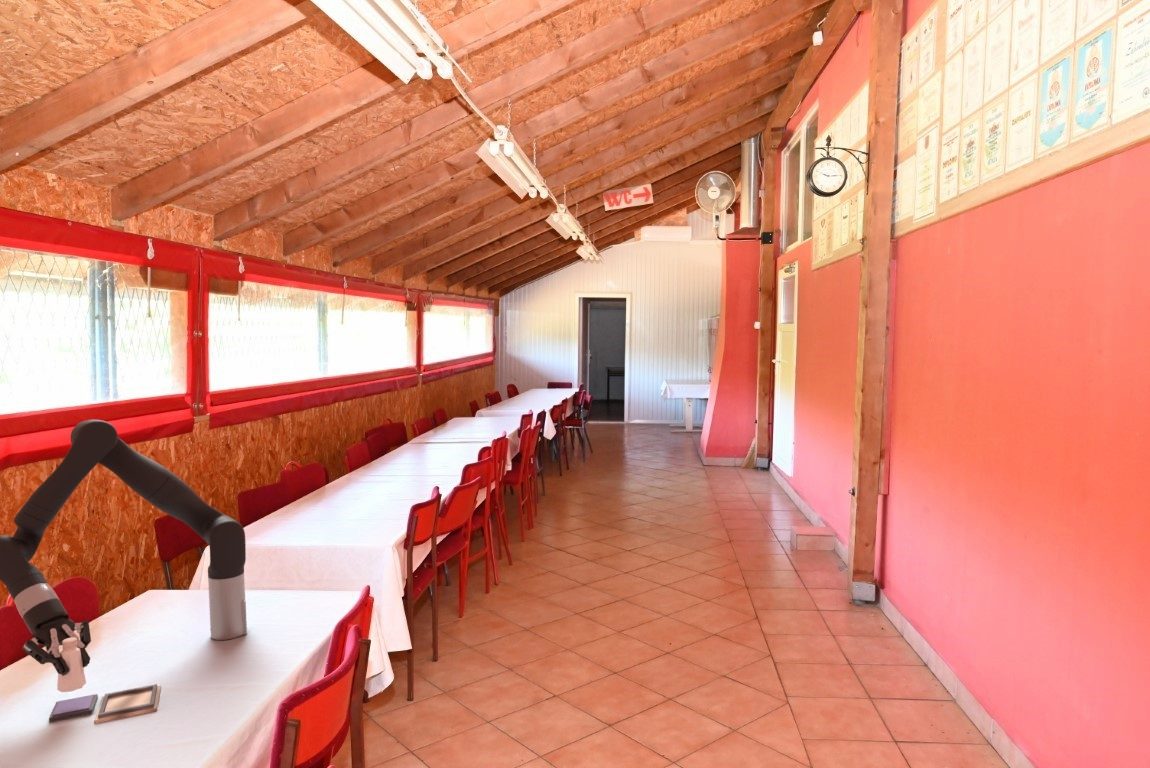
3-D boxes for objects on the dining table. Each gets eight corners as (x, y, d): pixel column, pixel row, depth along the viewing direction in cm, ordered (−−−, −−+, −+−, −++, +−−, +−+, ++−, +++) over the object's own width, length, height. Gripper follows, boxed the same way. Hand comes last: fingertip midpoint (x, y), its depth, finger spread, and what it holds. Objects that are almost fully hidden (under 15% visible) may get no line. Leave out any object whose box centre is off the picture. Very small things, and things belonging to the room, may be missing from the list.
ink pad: (97, 698, 172) (97, 692, 172) (92, 713, 165) (92, 708, 165) (56, 705, 169) (56, 700, 168) (49, 722, 161) (48, 716, 161)
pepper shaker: (71, 693, 163) (69, 645, 162) (51, 691, 164) (48, 643, 163) (92, 682, 168) (89, 635, 168) (72, 680, 169) (69, 633, 169)
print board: (161, 687, 177) (160, 682, 177) (157, 710, 166) (156, 704, 166) (102, 699, 171) (101, 693, 171) (94, 723, 161) (93, 717, 161)
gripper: (12, 609, 162) (49, 673, 157) (79, 588, 174) (114, 647, 170) (0, 628, 164) (36, 692, 160) (66, 607, 177) (101, 665, 173)
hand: (76, 668), depth 165 cm, fingers closed on pepper shaker, 3 cm apart
